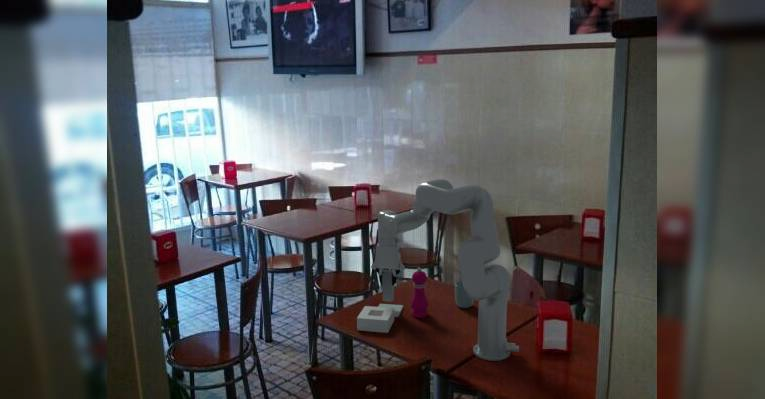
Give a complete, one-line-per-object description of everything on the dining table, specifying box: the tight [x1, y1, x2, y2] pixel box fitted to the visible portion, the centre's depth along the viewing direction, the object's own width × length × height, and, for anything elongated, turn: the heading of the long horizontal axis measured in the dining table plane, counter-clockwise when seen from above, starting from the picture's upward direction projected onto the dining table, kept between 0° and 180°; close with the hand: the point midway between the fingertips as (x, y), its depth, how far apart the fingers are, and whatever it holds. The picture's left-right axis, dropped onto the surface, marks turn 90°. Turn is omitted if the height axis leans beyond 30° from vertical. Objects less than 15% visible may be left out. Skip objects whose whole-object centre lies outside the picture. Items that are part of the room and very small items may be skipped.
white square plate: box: [377, 303, 404, 318], centre depth 239 cm, size 10×10×1 cm
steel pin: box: [381, 269, 395, 303], centre depth 237 cm, size 4×4×12 cm
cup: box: [454, 280, 475, 309], centre depth 241 cm, size 8×8×10 cm
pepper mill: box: [410, 267, 429, 319], centre depth 233 cm, size 7×7×20 cm
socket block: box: [356, 305, 395, 334], centre depth 225 cm, size 12×12×5 cm
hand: (388, 283), depth 236 cm, fingers closed on steel pin, 4 cm apart
